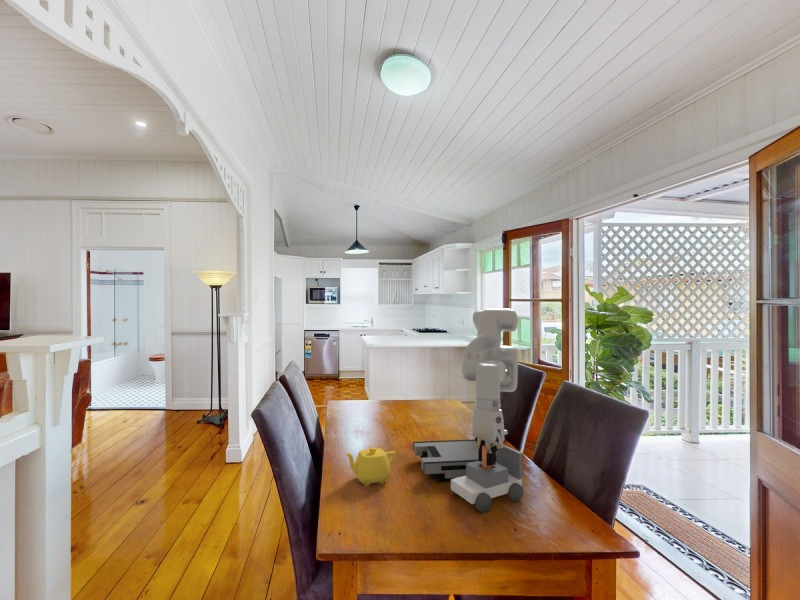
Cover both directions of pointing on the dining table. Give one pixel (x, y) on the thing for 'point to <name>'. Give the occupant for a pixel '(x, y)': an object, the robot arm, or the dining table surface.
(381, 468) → the teapot
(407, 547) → the dining table surface
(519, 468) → the ramp trolley
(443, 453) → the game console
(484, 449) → the pin
